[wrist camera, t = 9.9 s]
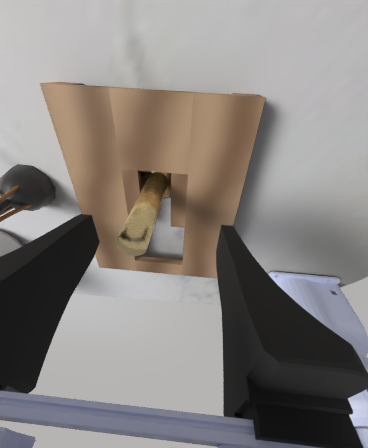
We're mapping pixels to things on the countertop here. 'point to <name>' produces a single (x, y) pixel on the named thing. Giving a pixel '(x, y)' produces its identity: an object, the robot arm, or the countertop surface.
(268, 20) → the countertop surface
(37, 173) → the wooden tabletop sculpture
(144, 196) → the peg
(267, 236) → the countertop surface
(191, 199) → the keyhole plate
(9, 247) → the can
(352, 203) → the countertop surface
